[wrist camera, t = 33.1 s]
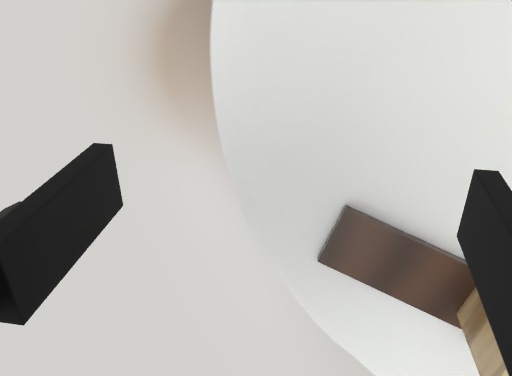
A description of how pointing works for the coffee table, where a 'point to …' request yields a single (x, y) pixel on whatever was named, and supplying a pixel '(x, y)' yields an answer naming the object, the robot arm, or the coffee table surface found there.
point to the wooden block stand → (414, 279)
